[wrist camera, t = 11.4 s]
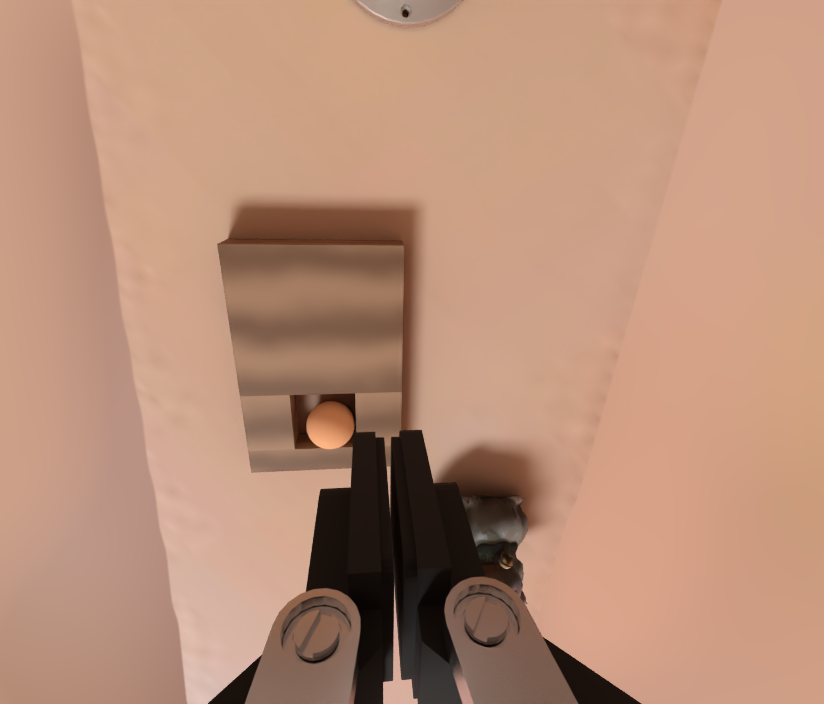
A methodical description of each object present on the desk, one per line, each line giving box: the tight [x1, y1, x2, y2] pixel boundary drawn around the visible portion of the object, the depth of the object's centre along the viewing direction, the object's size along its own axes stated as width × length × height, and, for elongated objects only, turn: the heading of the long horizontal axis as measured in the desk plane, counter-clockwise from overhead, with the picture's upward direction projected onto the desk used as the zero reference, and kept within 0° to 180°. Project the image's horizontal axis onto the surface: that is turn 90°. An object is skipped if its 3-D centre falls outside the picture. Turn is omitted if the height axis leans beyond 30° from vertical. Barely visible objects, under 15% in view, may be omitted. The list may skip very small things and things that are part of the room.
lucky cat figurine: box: [462, 495, 528, 604], centre depth 51 cm, size 15×12×14 cm
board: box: [217, 239, 404, 473], centre depth 43 cm, size 24×16×3 cm, turn 179°
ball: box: [306, 401, 355, 449], centre depth 45 cm, size 5×5×5 cm
